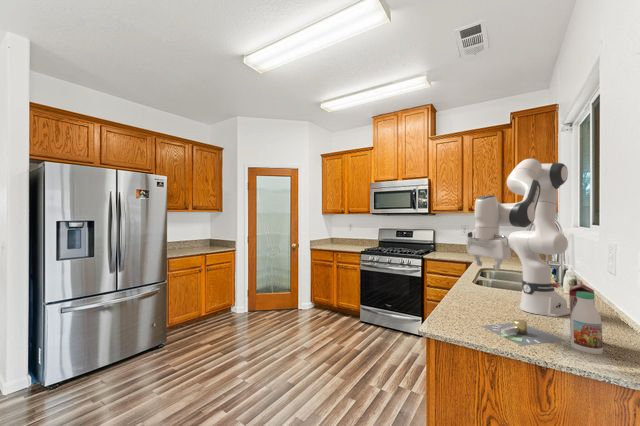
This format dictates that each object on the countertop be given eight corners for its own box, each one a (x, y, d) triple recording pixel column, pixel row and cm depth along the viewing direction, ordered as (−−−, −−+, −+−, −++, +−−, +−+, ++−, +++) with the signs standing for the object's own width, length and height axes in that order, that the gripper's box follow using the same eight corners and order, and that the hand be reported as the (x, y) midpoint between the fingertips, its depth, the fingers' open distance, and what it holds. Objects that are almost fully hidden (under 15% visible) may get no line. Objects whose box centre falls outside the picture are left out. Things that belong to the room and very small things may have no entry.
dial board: (519, 324, 122) (519, 321, 122) (565, 343, 104) (565, 340, 104) (480, 328, 118) (480, 325, 118) (520, 349, 100) (520, 345, 100)
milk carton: (570, 341, 106) (569, 281, 106) (571, 336, 110) (569, 278, 111) (595, 346, 101) (593, 284, 101) (595, 340, 106) (593, 281, 106)
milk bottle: (565, 347, 101) (564, 290, 101) (585, 346, 101) (584, 289, 102) (588, 358, 93) (586, 296, 93) (609, 356, 94) (607, 295, 94)
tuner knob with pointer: (518, 329, 114) (518, 318, 114) (530, 333, 110) (529, 322, 110) (497, 334, 109) (497, 323, 109) (508, 338, 105) (508, 327, 105)
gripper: (514, 235, 110) (515, 271, 110) (475, 233, 130) (476, 263, 130) (500, 235, 109) (501, 272, 108) (463, 233, 129) (464, 264, 128)
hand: (487, 267), depth 119 cm, fingers open, 8 cm apart
